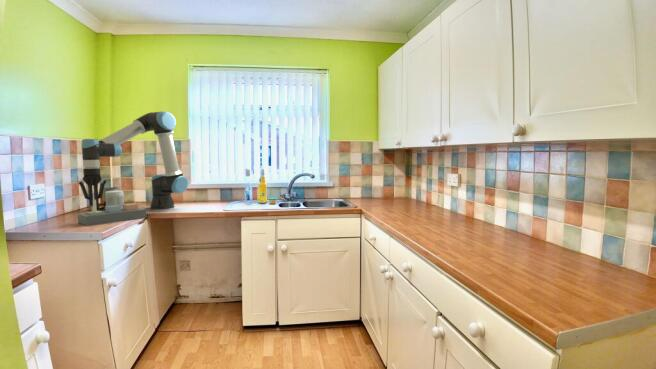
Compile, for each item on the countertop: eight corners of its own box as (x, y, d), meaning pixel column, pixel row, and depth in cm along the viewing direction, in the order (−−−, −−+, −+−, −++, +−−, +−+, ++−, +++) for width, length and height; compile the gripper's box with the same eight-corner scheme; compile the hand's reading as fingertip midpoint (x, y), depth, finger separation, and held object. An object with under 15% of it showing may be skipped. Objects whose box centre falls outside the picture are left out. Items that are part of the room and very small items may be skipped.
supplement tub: (123, 213, 219) (122, 190, 218) (126, 215, 212) (125, 191, 211) (105, 215, 213) (103, 191, 212) (107, 217, 206) (106, 192, 205)
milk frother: (119, 210, 232) (117, 188, 231) (90, 212, 225) (89, 189, 224) (121, 207, 245) (119, 186, 244) (94, 209, 238) (92, 187, 237)
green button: (99, 217, 194) (99, 210, 193) (103, 219, 190) (102, 211, 189) (86, 219, 189) (86, 212, 189) (90, 220, 185) (90, 213, 185)
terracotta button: (133, 209, 207) (133, 203, 207) (138, 210, 203) (137, 204, 203) (122, 211, 203) (122, 204, 202) (126, 212, 199) (126, 205, 198)
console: (136, 215, 212) (136, 207, 212) (146, 217, 203) (146, 209, 203) (78, 222, 189) (77, 213, 189) (86, 226, 180) (85, 216, 180)
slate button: (117, 211, 200) (116, 205, 200) (121, 213, 196) (120, 205, 196) (105, 213, 196) (104, 206, 195) (109, 214, 192) (108, 207, 192)
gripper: (102, 167, 194) (105, 209, 196) (74, 168, 184) (77, 212, 186) (107, 167, 190) (110, 210, 191) (79, 168, 180) (82, 213, 182)
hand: (94, 211), depth 189 cm, fingers closed
